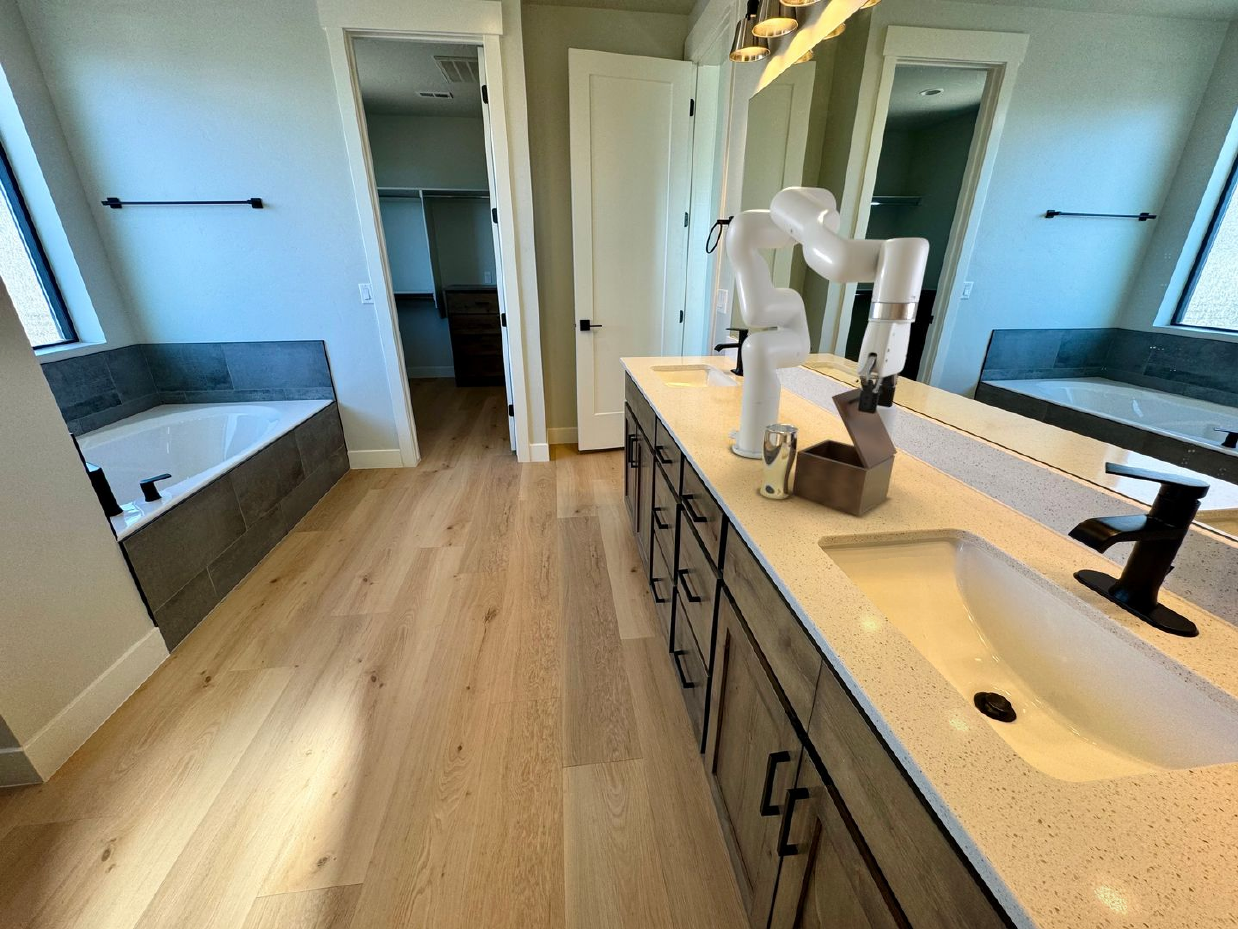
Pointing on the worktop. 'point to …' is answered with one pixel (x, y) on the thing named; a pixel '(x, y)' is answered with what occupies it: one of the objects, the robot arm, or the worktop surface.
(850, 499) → the chest
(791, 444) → the beer glass
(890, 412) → the bottle
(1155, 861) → the worktop surface
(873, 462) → the lid
